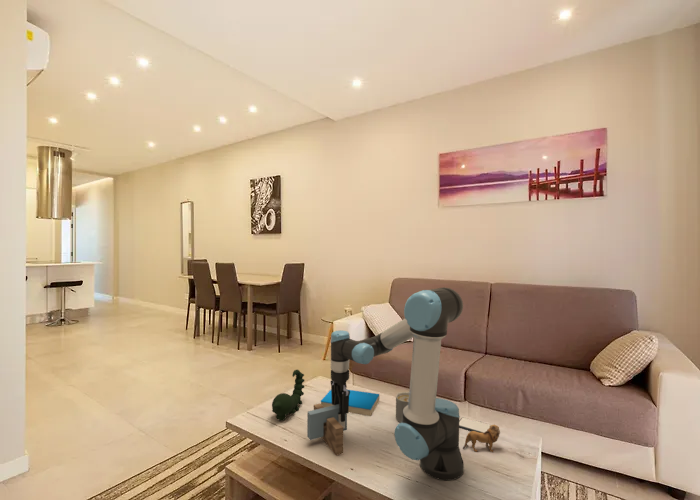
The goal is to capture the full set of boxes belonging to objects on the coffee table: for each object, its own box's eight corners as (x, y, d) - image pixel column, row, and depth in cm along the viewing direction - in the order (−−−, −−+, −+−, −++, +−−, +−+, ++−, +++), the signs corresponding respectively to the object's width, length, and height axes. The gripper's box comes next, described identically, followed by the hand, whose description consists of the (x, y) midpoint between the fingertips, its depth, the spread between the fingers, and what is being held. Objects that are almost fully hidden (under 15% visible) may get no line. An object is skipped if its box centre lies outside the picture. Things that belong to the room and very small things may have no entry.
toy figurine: (291, 404, 177) (263, 424, 153) (293, 365, 178) (265, 379, 154) (308, 407, 174) (282, 428, 150) (310, 368, 175) (284, 382, 151)
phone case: (455, 428, 153) (494, 439, 144) (455, 424, 153) (494, 436, 144) (462, 420, 160) (499, 430, 151) (462, 416, 160) (499, 426, 151)
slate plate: (343, 426, 148) (343, 402, 147) (346, 430, 145) (346, 406, 145) (307, 436, 140) (307, 411, 140) (310, 440, 138) (310, 414, 137)
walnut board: (343, 453, 134) (343, 427, 133) (336, 455, 132) (336, 429, 132) (320, 426, 153) (320, 403, 153) (313, 427, 152) (313, 404, 151)
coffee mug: (415, 426, 153) (415, 403, 153) (393, 421, 157) (393, 399, 157) (421, 412, 166) (422, 391, 165) (401, 408, 170) (401, 387, 169)
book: (371, 408, 162) (320, 400, 169) (371, 418, 162) (320, 409, 169) (379, 393, 178) (332, 386, 186) (379, 401, 178) (332, 394, 186)
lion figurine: (495, 443, 140) (495, 421, 140) (502, 451, 135) (503, 428, 135) (459, 446, 139) (460, 423, 139) (465, 454, 133) (466, 430, 133)
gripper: (357, 374, 139) (357, 433, 140) (339, 361, 153) (339, 415, 154) (340, 378, 136) (340, 438, 136) (323, 364, 150) (323, 419, 151)
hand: (339, 426), depth 145 cm, fingers closed on slate plate, 3 cm apart
